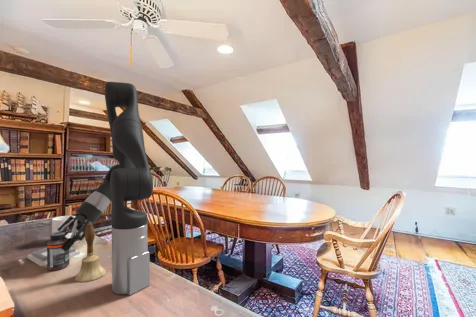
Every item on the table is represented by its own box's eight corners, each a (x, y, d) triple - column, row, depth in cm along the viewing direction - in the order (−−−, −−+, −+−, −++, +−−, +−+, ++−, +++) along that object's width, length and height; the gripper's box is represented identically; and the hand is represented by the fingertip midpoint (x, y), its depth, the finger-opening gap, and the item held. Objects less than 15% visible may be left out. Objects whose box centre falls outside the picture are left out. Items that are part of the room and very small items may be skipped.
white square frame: (79, 254, 90) (79, 248, 90) (40, 266, 80) (40, 259, 80) (65, 247, 97) (65, 242, 97) (27, 258, 87) (27, 252, 87)
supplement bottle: (50, 265, 81) (49, 231, 81) (71, 261, 84) (70, 229, 84) (44, 272, 76) (44, 237, 76) (67, 269, 78) (67, 234, 78)
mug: (45, 240, 105) (45, 217, 105) (66, 235, 112) (66, 213, 112) (57, 246, 99) (56, 221, 99) (79, 240, 106) (78, 216, 106)
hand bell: (69, 283, 69) (68, 228, 69) (81, 270, 77) (81, 221, 77) (100, 280, 71) (100, 226, 71) (109, 268, 79) (109, 219, 79)
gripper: (76, 198, 91) (39, 237, 81) (96, 202, 83) (57, 246, 73) (91, 210, 95) (58, 248, 86) (111, 214, 87) (76, 257, 78)
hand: (57, 247), depth 80 cm, fingers open, 8 cm apart
